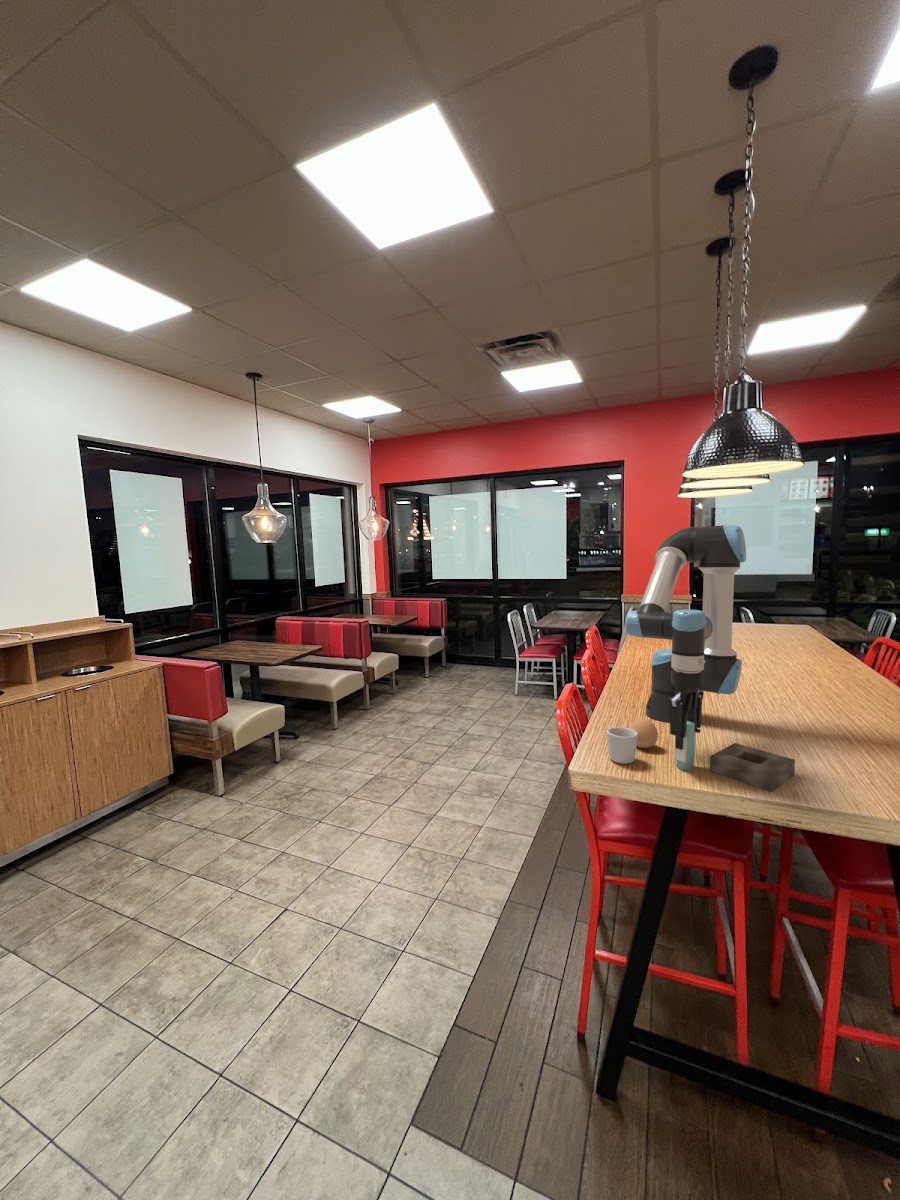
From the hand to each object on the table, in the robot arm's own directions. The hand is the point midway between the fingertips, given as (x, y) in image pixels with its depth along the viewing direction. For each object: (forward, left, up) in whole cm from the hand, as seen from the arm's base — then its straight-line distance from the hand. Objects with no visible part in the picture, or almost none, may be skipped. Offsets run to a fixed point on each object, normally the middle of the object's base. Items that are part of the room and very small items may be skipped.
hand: (684, 757), depth 124 cm
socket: (+12, +10, -3) cm, 16 cm away
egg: (-14, +4, -3) cm, 15 cm away
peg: (0, 0, -3) cm, 3 cm away
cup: (-14, -8, -3) cm, 16 cm away
